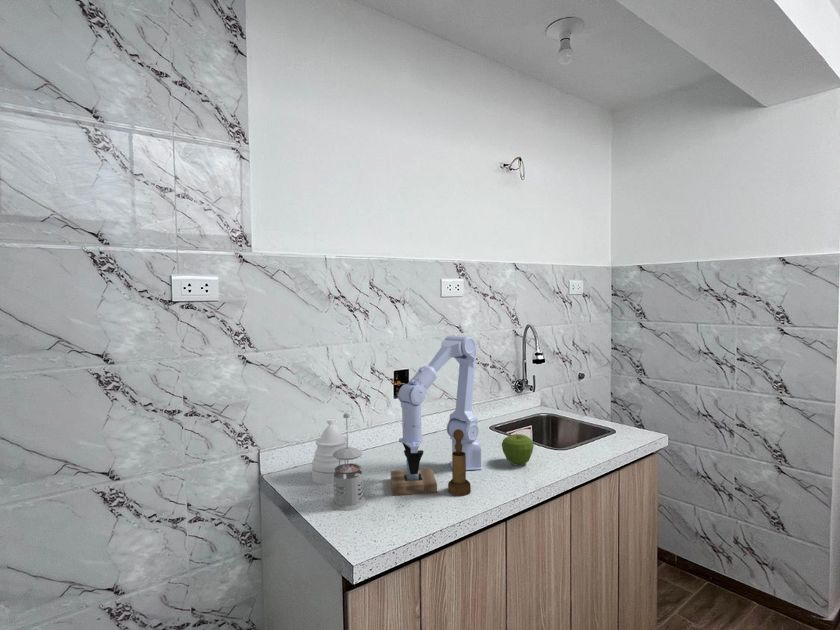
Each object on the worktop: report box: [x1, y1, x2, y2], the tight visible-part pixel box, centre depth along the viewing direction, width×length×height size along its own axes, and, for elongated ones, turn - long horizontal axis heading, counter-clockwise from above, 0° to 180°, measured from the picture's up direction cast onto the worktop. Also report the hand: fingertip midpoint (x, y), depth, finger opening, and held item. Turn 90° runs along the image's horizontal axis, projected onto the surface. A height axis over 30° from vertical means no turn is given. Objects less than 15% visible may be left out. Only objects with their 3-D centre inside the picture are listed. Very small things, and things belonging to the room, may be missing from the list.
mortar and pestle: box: [447, 429, 472, 497], centre depth 126 cm, size 7×6×18 cm
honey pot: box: [311, 418, 354, 486], centre depth 139 cm, size 13×13×18 cm
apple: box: [501, 434, 535, 466], centre depth 147 cm, size 11×10×10 cm
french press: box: [330, 412, 367, 512], centre depth 121 cm, size 10×12×25 cm
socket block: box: [390, 468, 438, 496], centre depth 131 cm, size 13×12×2 cm
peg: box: [405, 458, 419, 481], centre depth 131 cm, size 4×4×8 cm
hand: (412, 468), depth 131 cm, fingers open, 7 cm apart
